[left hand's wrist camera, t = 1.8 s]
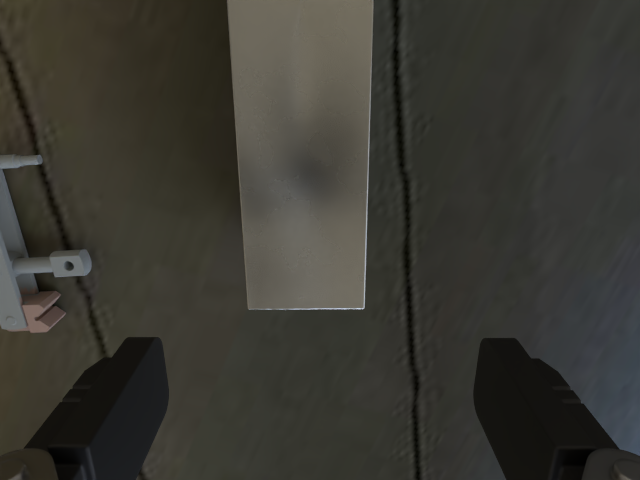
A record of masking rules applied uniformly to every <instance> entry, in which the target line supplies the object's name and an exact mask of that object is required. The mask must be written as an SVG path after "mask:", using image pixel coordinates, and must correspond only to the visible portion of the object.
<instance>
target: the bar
mask: <svg viewBox="0 0 640 480" xmlns="http://www.w3.org/2000/svg"><path fill="white" fill-rule="evenodd" d="M226 2H227V17H228V31H229V46H230V60H231V75H232V89H233V104H234V118H235V133H236V147H237V162H238V176H239V191H240V205H241V220H242V234H243V249H244V263H245V278H246V292H247V307H248V310H284V309H364V308H365V288H366V254H367V221H368V187H369V153H370V120H371V86H372V53H373V19H374V0H226Z"/></svg>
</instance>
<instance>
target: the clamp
mask: <svg viewBox="0 0 640 480" xmlns="http://www.w3.org/2000/svg"><path fill="white" fill-rule="evenodd" d="M42 161H43V160H42V157H41V156H40V155H31V156H23V155H17V154H10V155H0V325H1V327H2V329H7V330H8V331H27V330H30V332H31V333H37V332H47V331H48V330H49V329H50V328H52V327H53V326H54V325H55V324H56V323H57V322H58V321H59V320H60V319H61V318H62V317H63V316H64V315H65V314H66V312H64V311H63V310H61V309H60V308H58V307H57V306H52V305H53V304H54V303H55V302H56V301H57V299H58V298H59V297H60V295H61V294H60V293H58V292H57V291H44V292H39V290H38V287H37V283H36V280H35V277H34V273H43V272H53V273H54V276H55V277H65V276H84V275H87V274H88V273H89V272H90V270H91V259H90V256H89V253H88V252H87V250H85V249H83V250H66V251H54V252H52V253H51V255H50V257H33V258H29V257H28V253H27V250H26V247H25V243H24V240H23V236H22V233H21V230H20V226H19V223H18V220H17V216H16V213H15V210H14V206H13V203H12V200H11V196H10V193H9V190H8V186H7V183H6V179H5V176H4V173H3V169H5V168H19V167H20V166H25V165H34V164H42Z"/></svg>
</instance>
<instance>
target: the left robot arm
mask: <svg viewBox="0 0 640 480" xmlns="http://www.w3.org/2000/svg"><path fill="white" fill-rule="evenodd" d="M168 399H169V388H168V380H167V373H166V366H165V359H164V352H163V345H162V341H161V339H160V338H159V337H128V338H126V339H125V340H124V342H123V343H122V344H121V346H120V347H119V348H118V350H117V351H116V353H115V354H114V355H113V357H112V358H103V359H101V360H100V361H98V362H97V363H95V364H94V365H93V366H91V367H90V368H88V369H87V370H85V371H84V373H83V374H82V375H81V376H80V378H79V379H78V380H77V381H76V383H75V384H74V385H73V389H70V390H69V392H68V393H67V394H66V395H65V397H64V398H63V401H62V402H60V403H59V404H58V406H57V407H56V408H55V409H54V411H53V412H52V413H51V415H50V416H49V417H48V418H47V420H46V421H45V422H44V423H43V425H42V426H41V427H40V428H39V430H38V431H37V432H36V434H35V435H34V436H33V437H32V439H31V440H30V441H29V442H28V444H27V445H26V446H25V448H24V449H20V450H16V451H12V452H10V453H7V454H4V455H2V456H0V480H136V478H137V476H138V474H139V471H140V469H141V467H142V465H143V463H144V460H145V458H146V456H147V454H148V451H149V449H150V447H151V445H152V443H153V440H154V438H155V436H156V434H157V432H158V429H159V427H160V425H161V423H162V421H163V418H164V416H165V414H166V410H167V406H168ZM474 405H475V410H476V413H477V416H478V418H479V421H480V423H481V425H482V427H483V429H484V432H485V434H486V436H487V438H488V440H489V443H490V445H491V447H492V449H493V451H494V453H495V456H496V458H497V460H498V462H499V464H500V467H501V469H502V471H503V473H504V475H505V477H506V480H640V456H638V455H636V454H633V453H630V452H628V451H624V450H620V449H619V448H618V447H617V445H616V444H615V443H614V442H613V440H612V439H611V438H610V437H609V435H608V434H607V433H606V432H605V430H604V429H603V428H602V427H601V425H600V424H599V423H598V421H597V420H596V419H595V418H594V416H593V415H592V414H591V413H590V411H589V410H588V409H587V408H586V406H585V405H584V404H581V400H580V399H579V398H578V396H577V395H576V394H575V393H574V391H573V390H570V386H569V385H568V384H567V382H566V381H565V380H564V379H563V377H562V376H561V375H560V374H559V372H558V371H556V370H555V369H553V368H552V367H550V366H549V365H547V364H546V363H545V362H543V361H542V360H540V359H531V358H530V356H529V355H528V354H527V352H526V351H525V350H524V348H523V347H522V346H521V344H520V343H519V342H518V340H517V339H515V338H484V339H482V341H481V344H480V348H479V355H478V363H477V370H476V377H475V384H474Z"/></svg>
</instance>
